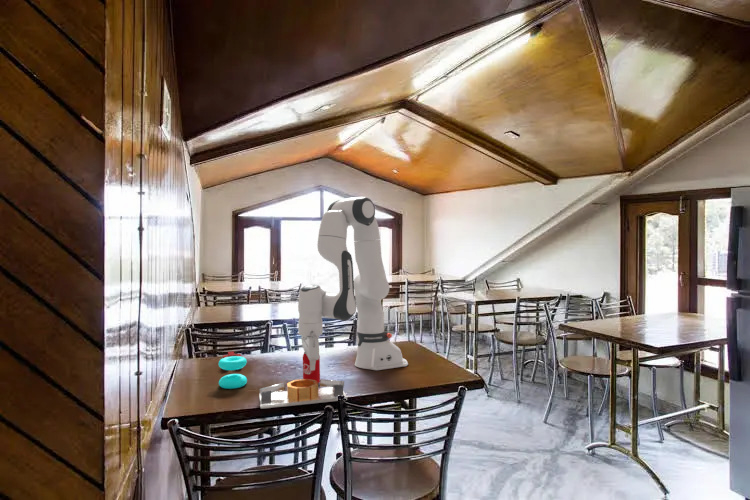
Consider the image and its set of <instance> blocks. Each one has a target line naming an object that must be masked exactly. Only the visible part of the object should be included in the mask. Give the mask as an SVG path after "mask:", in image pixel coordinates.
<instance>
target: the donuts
mask: <svg viewBox="0 0 750 500" xmlns="http://www.w3.org/2000/svg"><path fill="white" fill-rule="evenodd" d="M247 363H248V361H247V358H246V357H243V356H242V355H241V356H231V357H225V358H223V357H222V358H221V359H219V361H218V364H217V365H218V367H219V368H220V369H222V370H223V371H236V370H237V371H238V370H242V369H243V368H244V367H245V366H246V365H247ZM241 368H242V369H241ZM247 382H248V379H247V376H245V375H243V374H242V373H230V374H226V375H224V376H222V377H221V378H220V379H219V381H218V385H219V387H220V388H222V389H229V390H232V389H239V388H242V387H244V386H246V384H247Z"/></svg>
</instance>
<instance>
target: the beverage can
mask: <svg viewBox="0 0 750 500" xmlns="http://www.w3.org/2000/svg"><path fill="white" fill-rule="evenodd" d="M320 358H321V356H320V354H319V359H318V360H316V363H315V370H312V371H311V370H310V360H309V359H308V357H307V355H306V352H305V351H304V352H303V355H302V379H311V380H316V381H317V382H318V384H320V380H321V361H320V360H321V359H320Z"/></svg>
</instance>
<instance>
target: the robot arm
mask: <svg viewBox="0 0 750 500" xmlns="http://www.w3.org/2000/svg"><path fill="white" fill-rule="evenodd" d="M375 208H376V207H375V204H374V203H373V201H372V200H371V199H370V198H369V197H366V196H358V197H347V198H345V199H340V200H339V199H338V200H336V201H335V200H334V202H332V203H331V204H330V205H329V206H328V208H327V211H325V213H324V214H323V215H322V218H321V221H320V226H319V230H318V237H317V251H318V253H319V255H320V256H321V257H322V258H323V259H324V260H326V261H327V262H329V263H332V264H333V266H335V267H336V268H337V269H338V277H339V278H338V279H339V280H338V281H339V284H338V285H339V292H337V293H336V292H328V291H326V290H323V289H322V288H321V286H320V285H319V284H309V285H308V284H307V285H305V286H303V287H300V290H299V293H298V303H297V305H298V306H297V307H298V308H297V309H298V314H299V316H298V321H297V322H298V323H297V324H298V325H297V326H298V327H297V328H298V331H297V332H298V335H299V336H301V345H302V349H303V351H304V352H306V355H307V357H308V359H309V360H310V370H311V371H312V370H315V363H316V360H318V359H319V355H320V340H319V339H320V336H321V335H323V318H325V319H335V320H339V321H343V322H347V321H349V320H350V319H351V318H352V317H353V316H354V315H355V313H356V312H357V332H356V344H357V350H356V359H355V363H354V366H355V367H357V368H360V369H364V370H373V371H381V370H388V369H389V370H390V369H394V368H402V367H407V366H408V365H409V363H408V361H407V359H405V358H403V354H402V353H403V352H402V350H401V349H400V347H399V346H397V345H396V344H394V342H392V341H391V340H389V339H392V338H393V334H392V333H390V332H387V331H385V314H384V310H383V307H382V303H381V302H382V301H381V300H383V299H385V298H386V297H387V296H388V294H389V292H390V285H389V282H388V280H387V275H386V270H385V267H384V263H383V258H382V257H383V256H382V248H381V245H382V244H381V233H380V228H379V224H378V221H377V218H376V217H375V216H376V209H375ZM349 226H351V227H352V230H353V244H354V258H355V263H356V265H357V269H358V273H359V274H358V275H357V276H355V278H354V263H353V257H352V254H351V253H350V252H349V251H348V247H347V237H348V236H347V235H348V227H349Z"/></svg>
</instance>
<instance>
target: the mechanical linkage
mask: <svg viewBox="0 0 750 500" xmlns="http://www.w3.org/2000/svg"><path fill="white" fill-rule="evenodd" d="M231 356H241V357H242V354H241V353H235V351H228V352H227V354H222V359H223V358H225V357H231ZM242 369H243V368H241V369H240V370H242Z"/></svg>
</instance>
